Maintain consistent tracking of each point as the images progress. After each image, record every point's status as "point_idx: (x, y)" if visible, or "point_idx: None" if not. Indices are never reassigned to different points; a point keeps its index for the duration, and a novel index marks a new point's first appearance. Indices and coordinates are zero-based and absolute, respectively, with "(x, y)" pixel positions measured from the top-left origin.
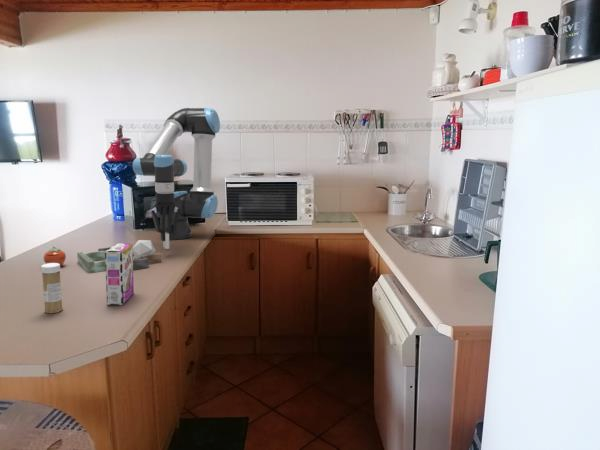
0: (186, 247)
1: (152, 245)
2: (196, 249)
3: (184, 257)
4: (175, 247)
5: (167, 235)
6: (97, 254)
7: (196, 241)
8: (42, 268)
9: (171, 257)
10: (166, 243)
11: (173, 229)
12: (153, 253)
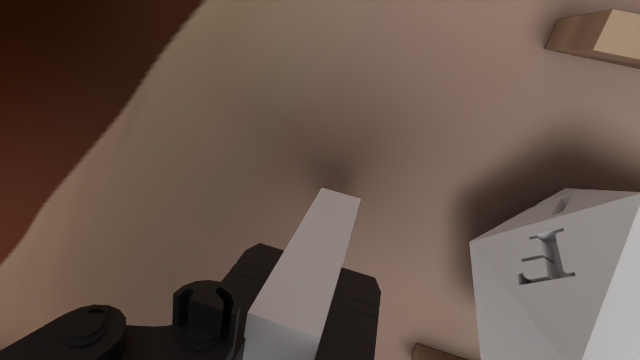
0: (106, 274)
1: (541, 289)
2: (70, 181)
3: (261, 24)
4: (164, 325)
5: (292, 296)
6: None
7: (8, 331)
8: None
9: (348, 118)
10: (343, 226)
11: (95, 339)
12: (508, 222)
